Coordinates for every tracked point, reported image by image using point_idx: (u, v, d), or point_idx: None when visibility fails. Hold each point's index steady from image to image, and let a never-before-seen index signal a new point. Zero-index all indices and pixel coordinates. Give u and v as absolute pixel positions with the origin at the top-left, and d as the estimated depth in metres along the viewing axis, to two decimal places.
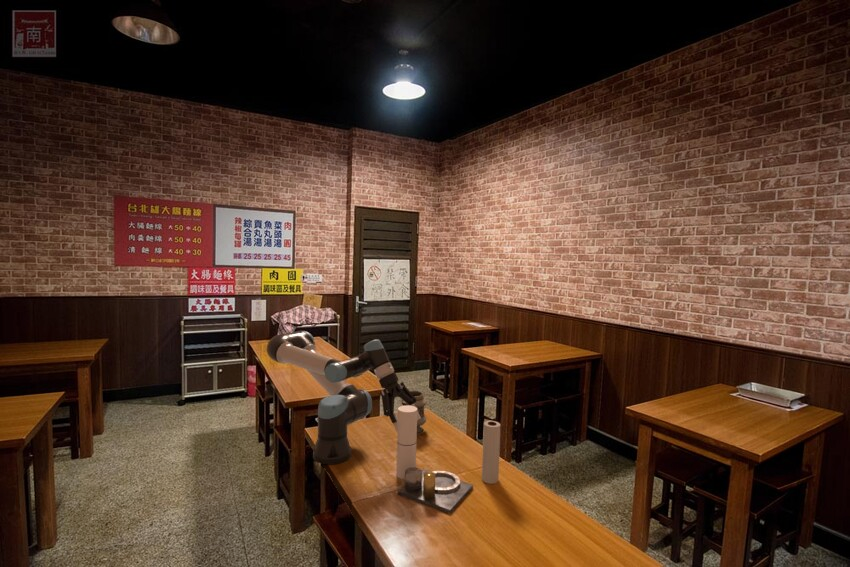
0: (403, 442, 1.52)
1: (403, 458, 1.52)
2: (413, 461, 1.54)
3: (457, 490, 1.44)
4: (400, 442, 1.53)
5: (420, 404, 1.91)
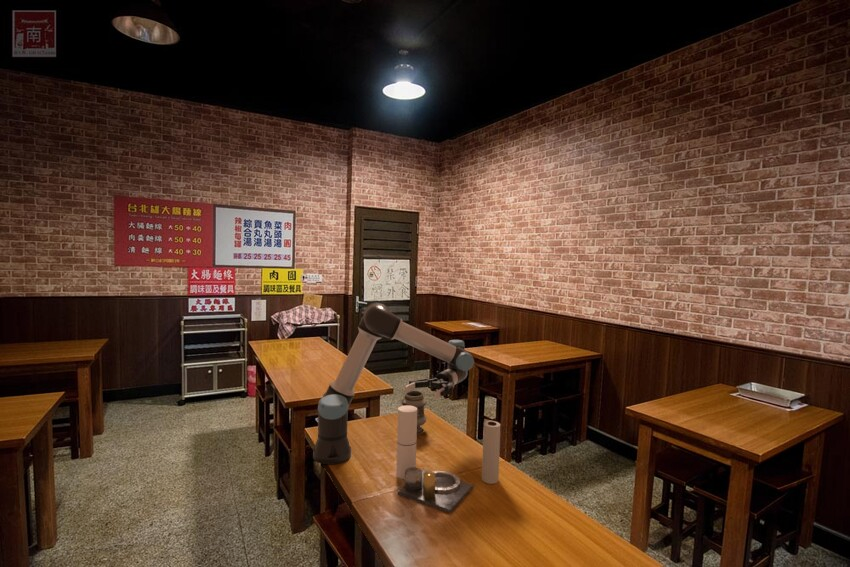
0: (403, 442, 1.52)
1: (403, 458, 1.52)
2: (413, 461, 1.54)
3: (457, 490, 1.44)
4: (400, 442, 1.53)
5: (420, 404, 1.91)
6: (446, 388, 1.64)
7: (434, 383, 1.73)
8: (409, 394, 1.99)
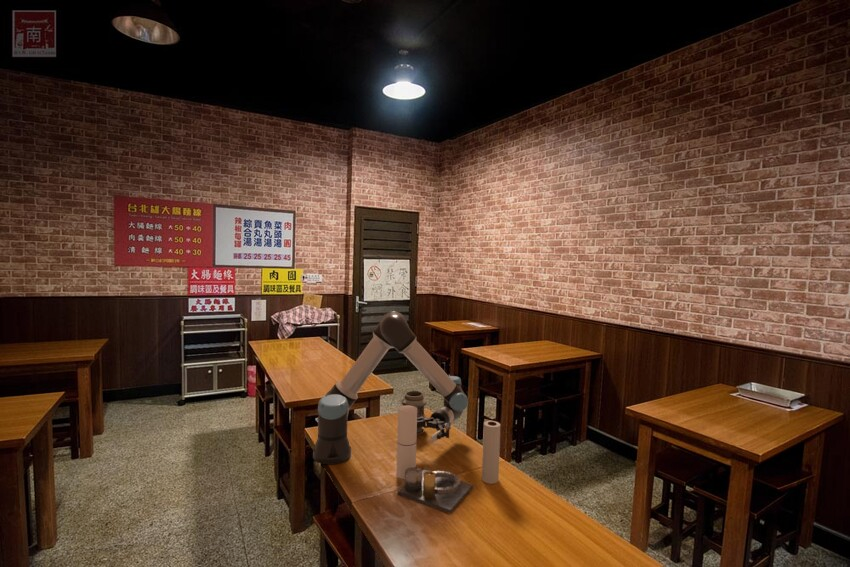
0: (403, 442, 1.52)
1: (403, 458, 1.52)
2: (413, 461, 1.54)
3: (457, 490, 1.44)
4: (400, 442, 1.53)
5: (420, 404, 1.91)
6: (443, 431, 1.62)
7: (430, 423, 1.71)
8: (409, 394, 1.99)
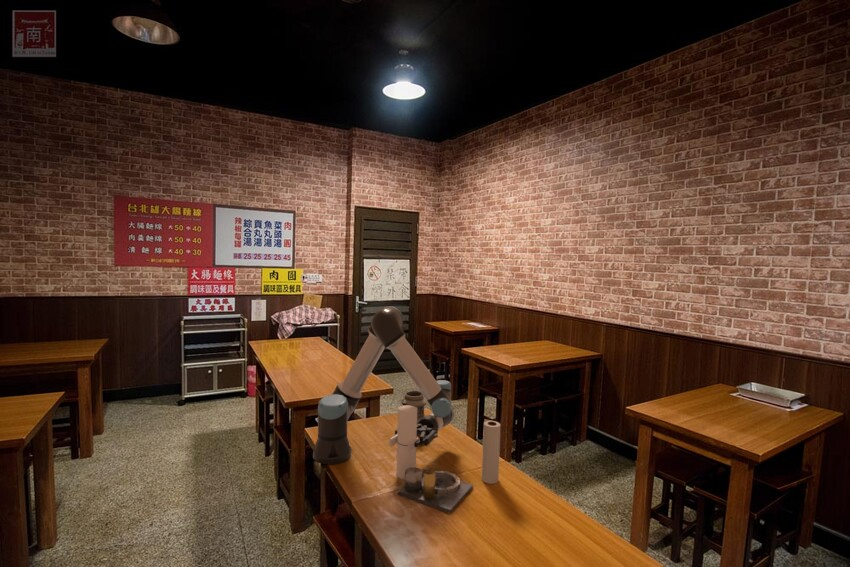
0: (403, 442, 1.52)
1: (403, 458, 1.52)
2: (413, 461, 1.54)
3: (457, 490, 1.44)
4: (400, 442, 1.53)
5: (420, 404, 1.91)
6: (420, 438, 1.55)
7: (418, 430, 1.63)
8: (409, 394, 1.99)
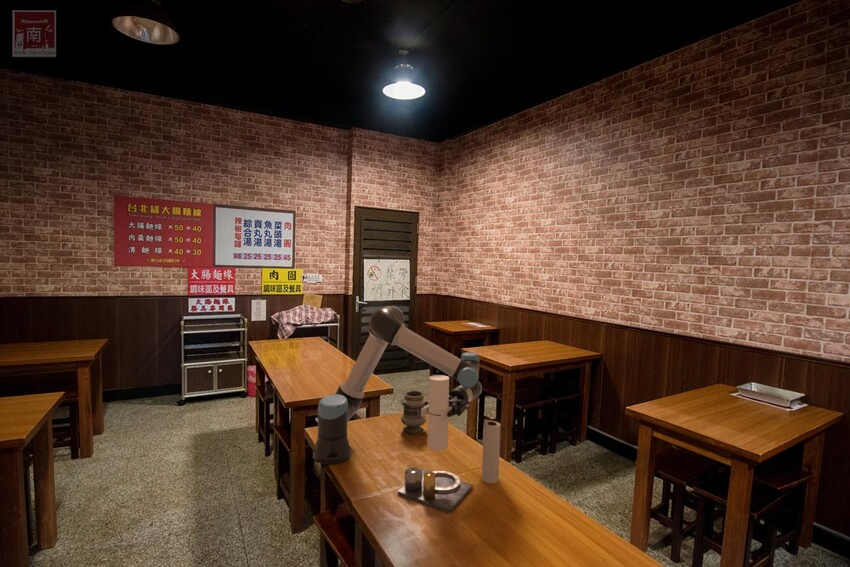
0: (435, 412, 1.46)
1: (435, 429, 1.46)
2: (446, 432, 1.47)
3: (457, 490, 1.44)
4: (432, 412, 1.46)
5: (420, 404, 1.91)
6: (453, 408, 1.48)
7: None
8: (409, 394, 1.99)
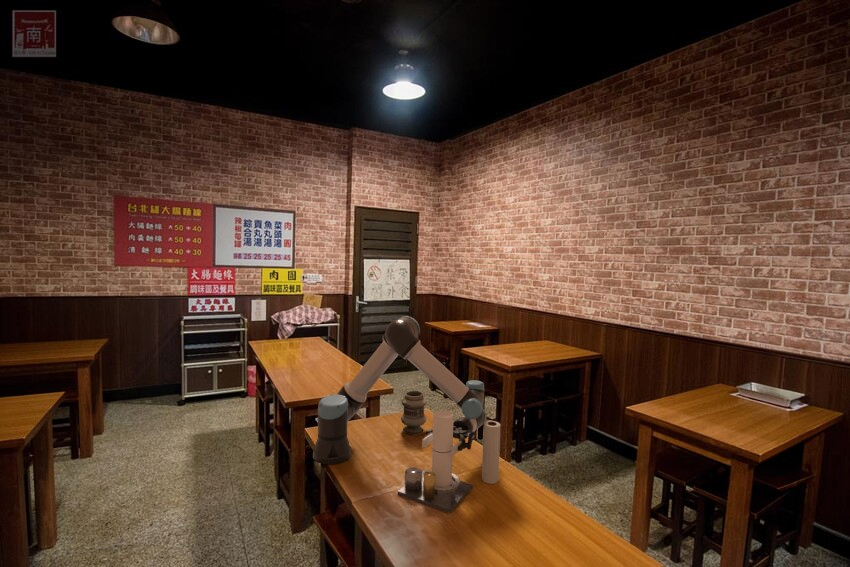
0: (439, 449, 1.45)
1: (439, 466, 1.45)
2: (450, 469, 1.46)
3: (457, 490, 1.44)
4: (436, 449, 1.45)
5: (420, 404, 1.91)
6: (463, 441, 1.47)
7: None
8: (409, 394, 1.99)
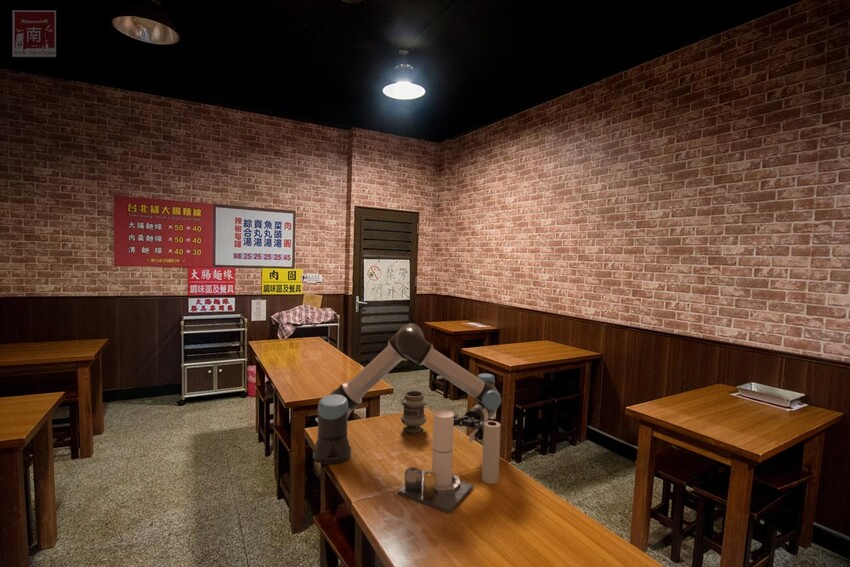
0: (440, 449, 1.45)
1: (439, 466, 1.45)
2: (450, 469, 1.46)
3: (457, 490, 1.44)
4: (436, 449, 1.45)
5: (420, 404, 1.91)
6: (480, 429, 1.57)
7: (465, 422, 1.66)
8: (409, 394, 1.99)
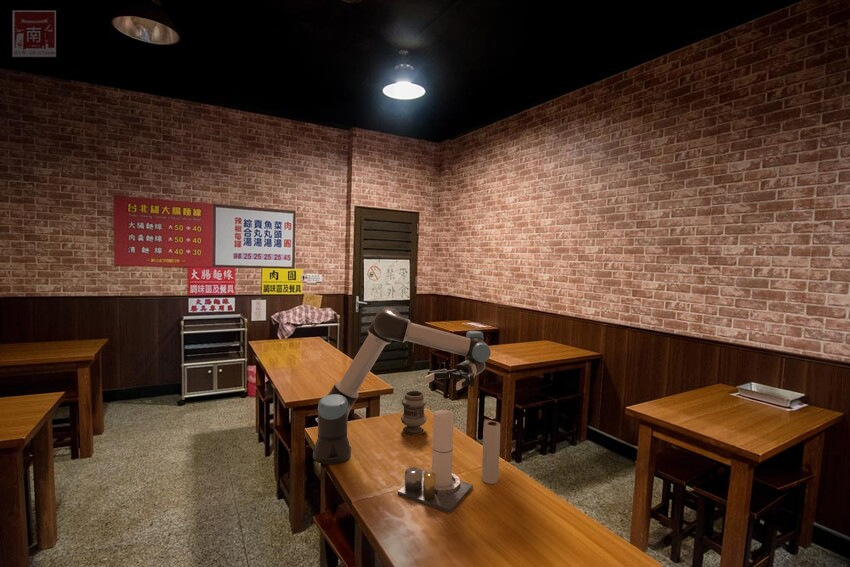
0: (439, 449, 1.45)
1: (439, 466, 1.45)
2: (450, 469, 1.46)
3: (457, 490, 1.44)
4: (436, 449, 1.45)
5: (420, 404, 1.91)
6: (467, 379, 1.59)
7: (454, 374, 1.68)
8: (409, 394, 1.99)
